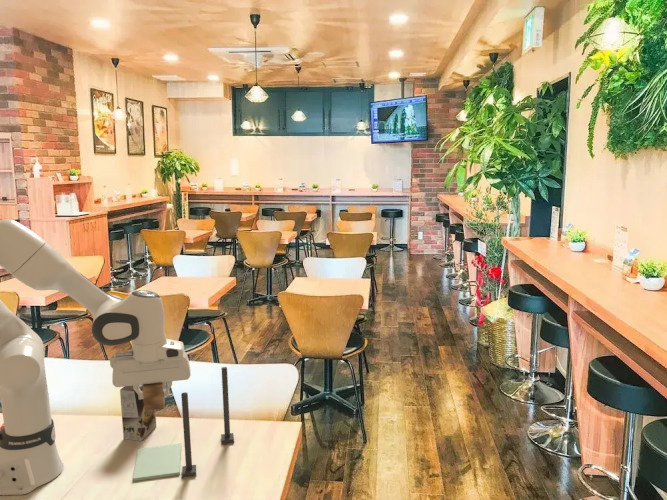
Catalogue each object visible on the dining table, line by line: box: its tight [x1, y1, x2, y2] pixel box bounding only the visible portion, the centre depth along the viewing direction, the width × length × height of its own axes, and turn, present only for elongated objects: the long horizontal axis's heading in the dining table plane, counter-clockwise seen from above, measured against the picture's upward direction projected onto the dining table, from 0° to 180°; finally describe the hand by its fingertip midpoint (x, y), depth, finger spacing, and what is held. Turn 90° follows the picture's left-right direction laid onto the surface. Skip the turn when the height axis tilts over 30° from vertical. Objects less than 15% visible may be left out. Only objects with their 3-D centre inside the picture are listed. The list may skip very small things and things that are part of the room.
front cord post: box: [180, 392, 197, 479], centre depth 150 cm, size 4×4×23 cm
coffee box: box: [119, 385, 157, 442], centre depth 172 cm, size 9×6×16 cm
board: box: [132, 443, 182, 482], centre depth 157 cm, size 12×15×1 cm
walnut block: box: [142, 382, 166, 411], centre depth 153 cm, size 5×5×7 cm
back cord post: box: [220, 366, 235, 445], centre depth 166 cm, size 4×4×23 cm
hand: (154, 397), depth 154 cm, fingers closed on walnut block, 5 cm apart
